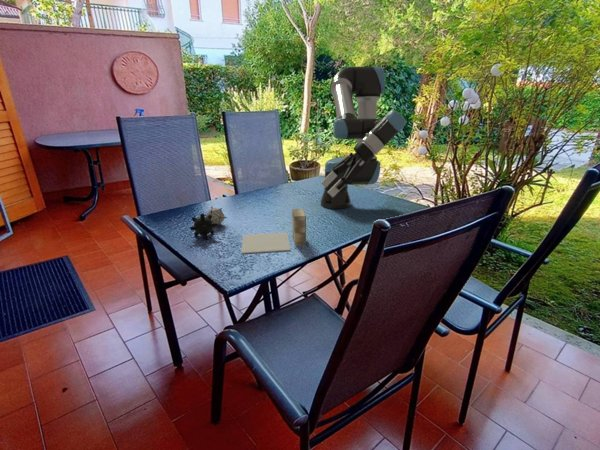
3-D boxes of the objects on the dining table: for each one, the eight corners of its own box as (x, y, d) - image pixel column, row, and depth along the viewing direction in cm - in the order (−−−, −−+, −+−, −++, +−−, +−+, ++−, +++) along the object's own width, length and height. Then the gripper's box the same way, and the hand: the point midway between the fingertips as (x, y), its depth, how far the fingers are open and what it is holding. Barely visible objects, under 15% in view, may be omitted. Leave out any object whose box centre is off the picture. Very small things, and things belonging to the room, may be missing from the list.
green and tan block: (303, 236, 137) (303, 208, 133) (306, 245, 130) (306, 215, 125) (292, 237, 137) (292, 209, 132) (294, 245, 129) (294, 216, 125)
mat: (286, 233, 140) (286, 232, 140) (290, 250, 126) (290, 249, 125) (243, 236, 138) (242, 234, 138) (241, 253, 124) (241, 252, 123)
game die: (221, 231, 152) (233, 214, 150) (211, 232, 144) (223, 213, 142) (208, 219, 154) (219, 201, 153) (196, 219, 146) (209, 200, 144)
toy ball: (220, 222, 145) (224, 224, 134) (204, 242, 144) (207, 246, 132) (199, 206, 142) (201, 208, 130) (183, 227, 140) (184, 230, 129)
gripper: (352, 136, 133) (314, 175, 137) (372, 145, 110) (325, 192, 114) (364, 149, 136) (326, 187, 139) (386, 161, 113) (340, 206, 116)
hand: (326, 189), depth 127 cm, fingers open, 13 cm apart
